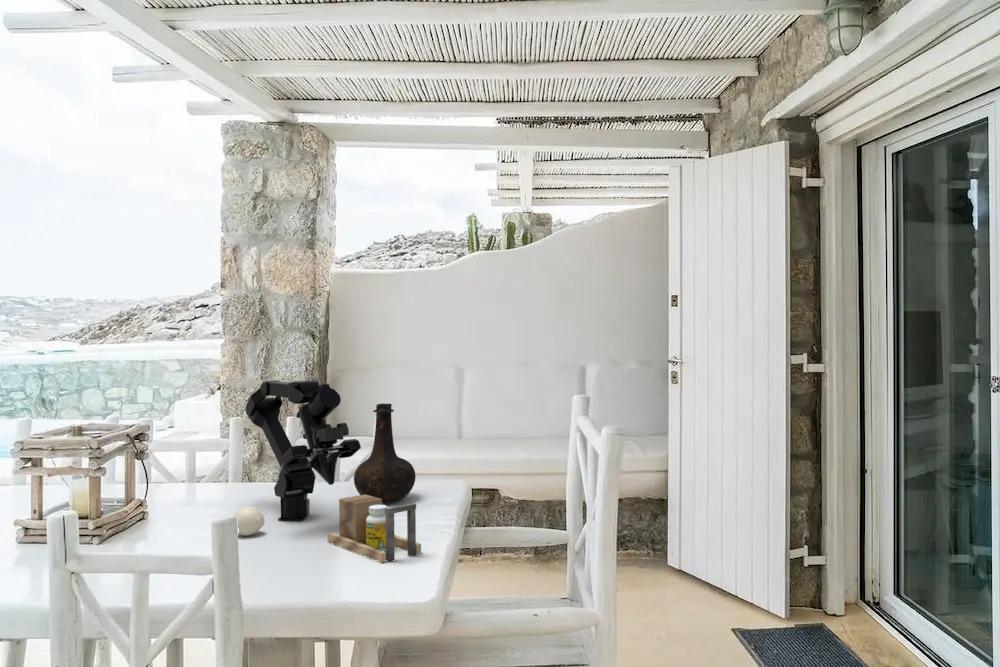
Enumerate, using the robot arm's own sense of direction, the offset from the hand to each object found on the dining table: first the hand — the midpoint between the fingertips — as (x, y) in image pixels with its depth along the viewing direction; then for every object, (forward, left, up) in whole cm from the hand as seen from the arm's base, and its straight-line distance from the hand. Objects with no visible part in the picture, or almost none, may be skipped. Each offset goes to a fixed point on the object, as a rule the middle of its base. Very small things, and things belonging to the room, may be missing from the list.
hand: (331, 484), depth 177 cm
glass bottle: (+6, +35, -12) cm, 37 cm away
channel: (+12, -13, -12) cm, 21 cm away
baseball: (-20, -2, -12) cm, 23 cm away
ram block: (+9, -9, -12) cm, 17 cm away
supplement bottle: (+14, -14, -12) cm, 23 cm away
